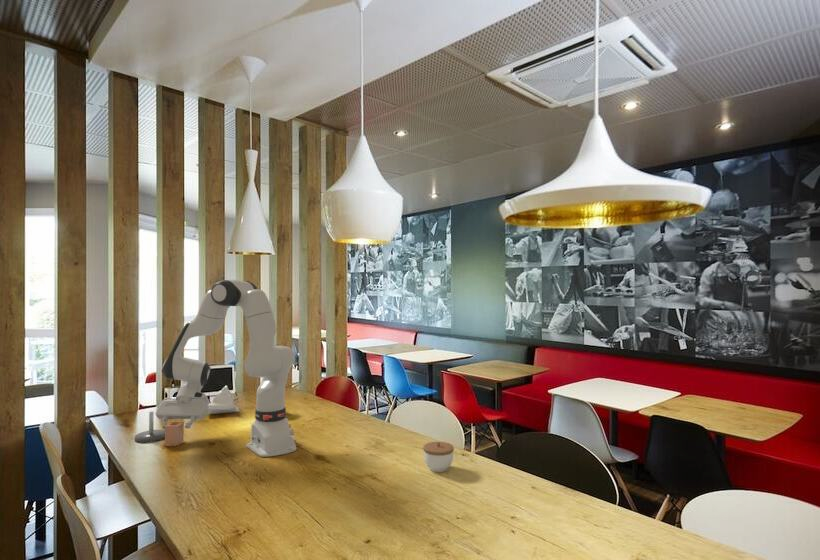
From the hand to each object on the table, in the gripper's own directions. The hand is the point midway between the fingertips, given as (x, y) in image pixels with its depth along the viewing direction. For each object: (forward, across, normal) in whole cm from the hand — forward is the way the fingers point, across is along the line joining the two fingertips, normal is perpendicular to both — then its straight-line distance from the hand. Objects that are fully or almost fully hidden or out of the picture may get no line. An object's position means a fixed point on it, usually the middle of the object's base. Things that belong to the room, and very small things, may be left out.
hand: (175, 427), depth 186 cm
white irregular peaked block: (-26, +2, +35) cm, 44 cm away
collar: (+5, 0, +3) cm, 6 cm away
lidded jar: (+23, +106, -15) cm, 110 cm away
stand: (0, -13, +8) cm, 16 cm away
